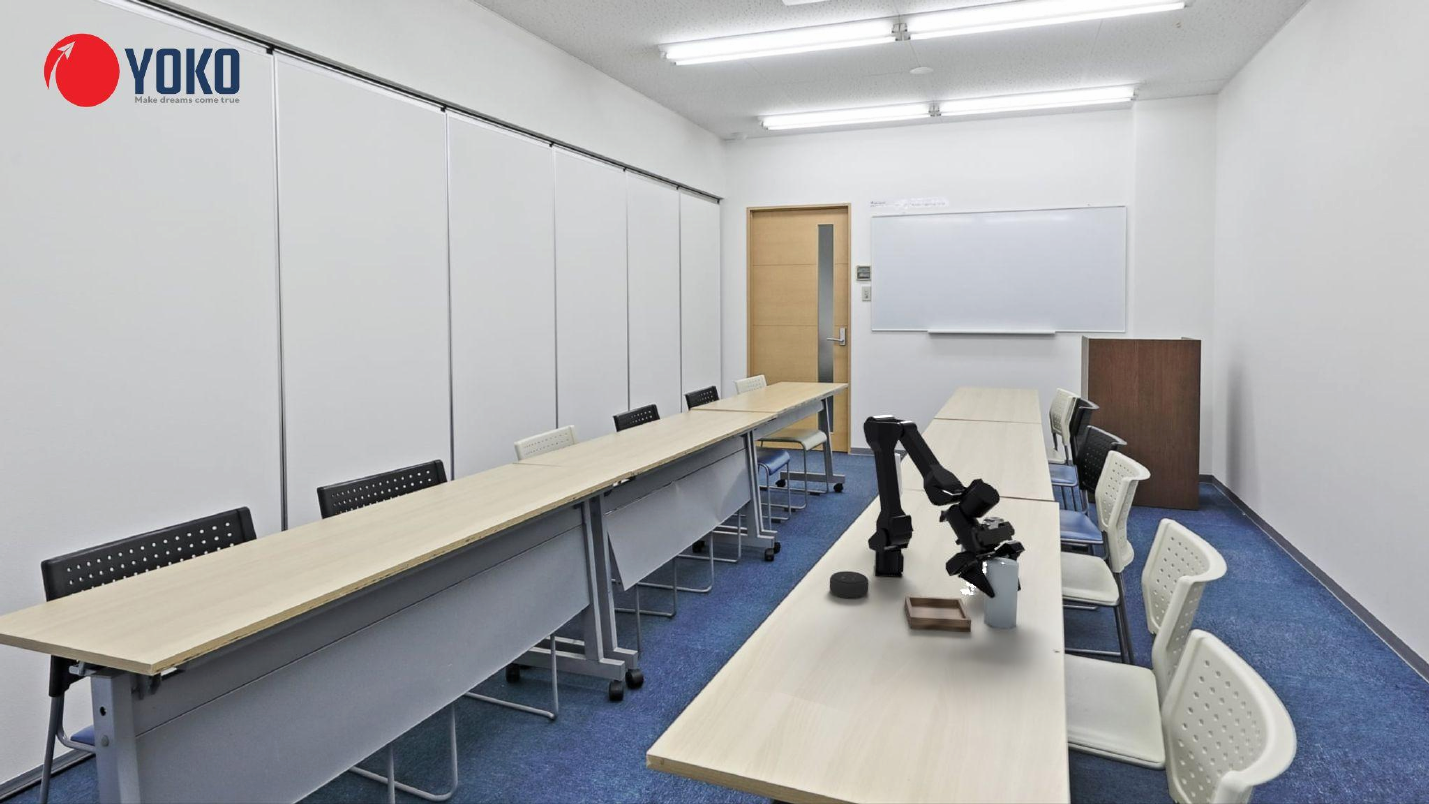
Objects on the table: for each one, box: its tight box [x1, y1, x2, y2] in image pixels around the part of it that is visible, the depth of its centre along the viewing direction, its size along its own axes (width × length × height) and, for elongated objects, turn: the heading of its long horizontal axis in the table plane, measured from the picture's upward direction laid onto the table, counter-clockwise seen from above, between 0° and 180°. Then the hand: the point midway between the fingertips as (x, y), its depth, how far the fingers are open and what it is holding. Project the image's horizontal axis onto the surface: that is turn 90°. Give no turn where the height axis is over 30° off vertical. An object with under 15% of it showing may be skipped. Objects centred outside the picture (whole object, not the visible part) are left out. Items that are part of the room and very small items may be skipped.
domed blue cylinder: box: [983, 558, 1020, 629], centre depth 162 cm, size 6×6×13 cm
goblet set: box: [959, 516, 1005, 596], centre depth 189 cm, size 28×6×13 cm, turn 148°
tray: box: [904, 595, 972, 633], centre depth 165 cm, size 12×12×2 cm
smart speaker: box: [829, 570, 870, 599], centre depth 180 cm, size 9×9×4 cm
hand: (1006, 594), depth 161 cm, fingers open, 7 cm apart
